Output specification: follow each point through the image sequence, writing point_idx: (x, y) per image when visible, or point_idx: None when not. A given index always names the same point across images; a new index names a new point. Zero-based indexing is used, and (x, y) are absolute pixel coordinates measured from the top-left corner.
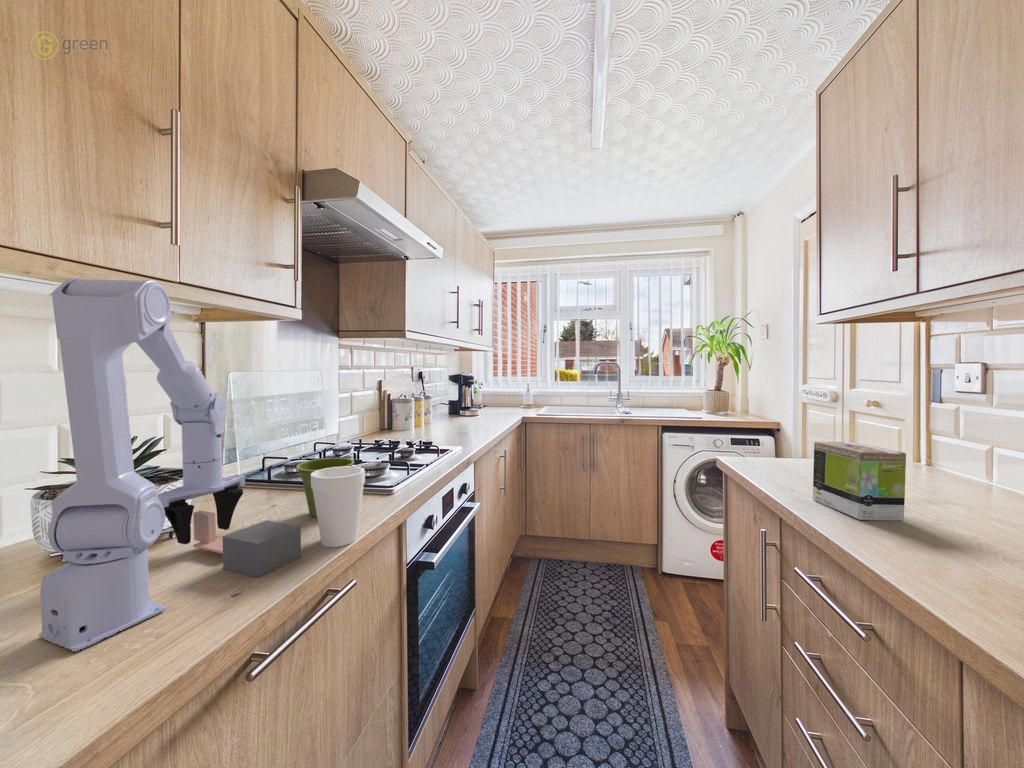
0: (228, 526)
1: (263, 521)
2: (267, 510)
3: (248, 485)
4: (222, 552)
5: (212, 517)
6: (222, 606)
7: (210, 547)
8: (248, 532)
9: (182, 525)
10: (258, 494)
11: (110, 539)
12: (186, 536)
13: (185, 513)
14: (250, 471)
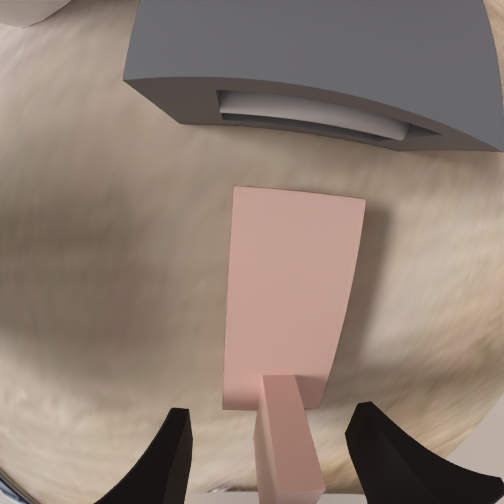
0: (176, 415)
1: (161, 75)
2: (5, 417)
3: (18, 488)
4: (358, 231)
5: (295, 474)
6: (491, 17)
7: (334, 329)
8: (416, 17)
9: (430, 452)
10: (9, 466)
11: None
12: (388, 419)
13: (467, 484)
14: (10, 497)
